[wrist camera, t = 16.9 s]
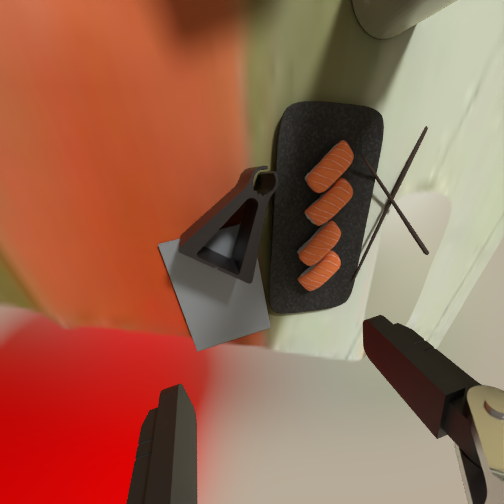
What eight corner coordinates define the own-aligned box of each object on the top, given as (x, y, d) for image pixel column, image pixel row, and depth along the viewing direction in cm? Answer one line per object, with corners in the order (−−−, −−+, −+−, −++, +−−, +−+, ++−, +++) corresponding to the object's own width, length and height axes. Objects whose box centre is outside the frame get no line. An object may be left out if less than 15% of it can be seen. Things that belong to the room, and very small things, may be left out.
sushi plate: (274, 101, 28) (287, 93, 25) (467, 118, 35) (498, 113, 32) (264, 309, 39) (271, 324, 35) (414, 290, 46) (433, 301, 42)
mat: (249, 221, 32) (250, 221, 32) (269, 325, 39) (270, 327, 39) (158, 243, 30) (158, 245, 30) (197, 349, 37) (197, 351, 37)
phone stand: (176, 251, 24) (233, 142, 23) (179, 237, 30) (225, 149, 28) (250, 284, 27) (305, 191, 26) (241, 266, 33) (285, 188, 31)
